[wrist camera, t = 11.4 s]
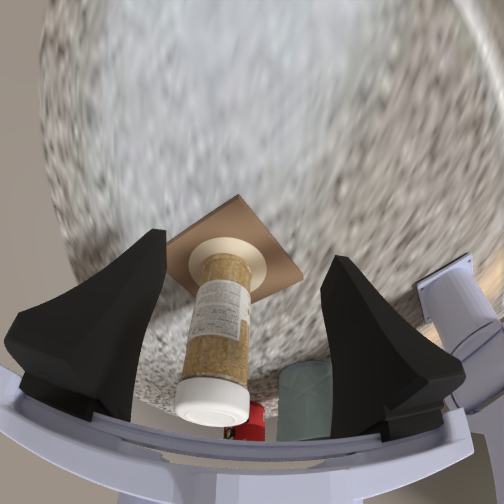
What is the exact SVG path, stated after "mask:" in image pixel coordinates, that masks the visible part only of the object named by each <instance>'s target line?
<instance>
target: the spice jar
mask: <svg viewBox="0 0 504 504" xmlns="http://www.w3.org/2000/svg"><path fill="white" fill-rule="evenodd" d="M251 279H252V271H251V267H250V266H249V264H248V263H247V262H246V261H245V260H244V259H242V258H241V257H239V256H237V255H234V254H227V253H221V254H215V255H213V256H211V257H210V258H209V259H207V260H206V262H205V263H204V265H203V267H202V278H201V284H200V288H199V290H198V292H197V296H196V301H195V306H194V310H193V315H192V320H191V325H190V329H189V334H188V339H187V345H186V348H187V350H186V356H185V361H184V366H183V372H182V377H181V378H180V383H179V384H178V385H177V389H176V396H175V403H174V410H175V412H176V414H177V415H178V416H180V417H181V418H183V419H185V420H187V421H190V422H193V423H196V424H201V425H206V426H215V427H216V426H217V427H228V426H235V425H239V424H242V423H244V422H246V421H247V419H248V418H249V404H250V394H249V392H248V390H247V389H248V387H247V368H248V348H249V339H250V310H251V298H250V283H251Z"/></svg>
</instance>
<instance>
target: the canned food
mask: <svg viewBox="0 0 504 504" xmlns="http://www.w3.org/2000/svg"><path fill="white" fill-rule="evenodd" d="M223 439H228V440H241V441H262V442H265V410H264V407H263V406H262V405H261V404H259V403H256V402H251V401H250V404H249V418H248V419H247V421H246V422H244V423H242V424H239V425H235V426H228V427H224V438H223Z"/></svg>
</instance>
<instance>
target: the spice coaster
mask: <svg viewBox="0 0 504 504" xmlns="http://www.w3.org/2000/svg"><path fill="white" fill-rule="evenodd" d="M166 249H167V271H166V272H167V273H168V274H169V275H170V276H172V277H173V278H174V279H175V280H176V281H177V282H178V283H180V284H181V285H182V286H183V287H184V288H185V289H187V290H188V291H189V292H190V293H191V294H192V295H194V296H195V297H196V296H197V292H198V290H199V288H200V284H201V278H202V267H203V265H204V263H205V262H206V260H207V259H209V258H210V257H211V256H213V255H215V254H221V253H227V254H234V255H237V256H239V257H241V258H242V259H244V260H245V261H246V262H247V263H248V264H249V266H250V267H251V271H252V279H251V283H250V298H251V304H252V303H255V302H257V301H259V300H261V299H263V298H265V297H268V296H270V295H272V294H274V293H276V292H278V291H280V290H283V289H285V288H287V287H289V286H291V285H293V284H295V283H297V282H299V281H301V280H303V273H302V272H301V271H300V270H299V268H298V267H297V266H296V265H295V263H294V262H293V261H292V259H291V258H290V257H289V256H288V254H287V253H286V252H285V251H284V249H283V248H282V247H281V246H280V244H279V243H278V242H277V241H276V239H275V238H274V237H273V236H272V234H271V233H270V232H269V231H268V229H267V228H266V227H265V226H264V224H263V223H262V222H261V221H260V219H259V218H258V217H257V216H256V214H255V213H254V212H253V211H252V210H251V208H250V207H249V206H248V205H247V203H246V202H245V201H244V200H243V199H242V197H241V196H240V195H239V194H238V195H237V196H235V197H234V198H232V199H230V200H229V201H227V202H226V203H224V204H223V205H221V206H220V207H218V208H217V209H215V210H214V211H212V212H211V213H209V214H208V215H206V216H205V217H203V218H202V219H200V220H199V221H198V222H196V223H195V224H193V225H192V226H190V227H189V228H187V229H186V230H184V231H183V232H182V233H180V234H179V235H177V236H176V237H174V238H173V239H172V240H170V241H169V242H167V243H166Z"/></svg>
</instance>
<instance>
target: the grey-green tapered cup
mask: <svg viewBox="0 0 504 504" xmlns="http://www.w3.org/2000/svg"><path fill="white" fill-rule="evenodd" d="M332 405H333V378H332V365H331V364H329V363H327V362H324V361H317V360H311V361H303V362H298V363H294V364H292V365H289V366H287V367H285V368H284V369H283V370H282V371H281V373H280V375H279V402H278V415H279V416H278V423H277V441H276V442H296V441H317V440H330V433H331V422H332Z"/></svg>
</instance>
